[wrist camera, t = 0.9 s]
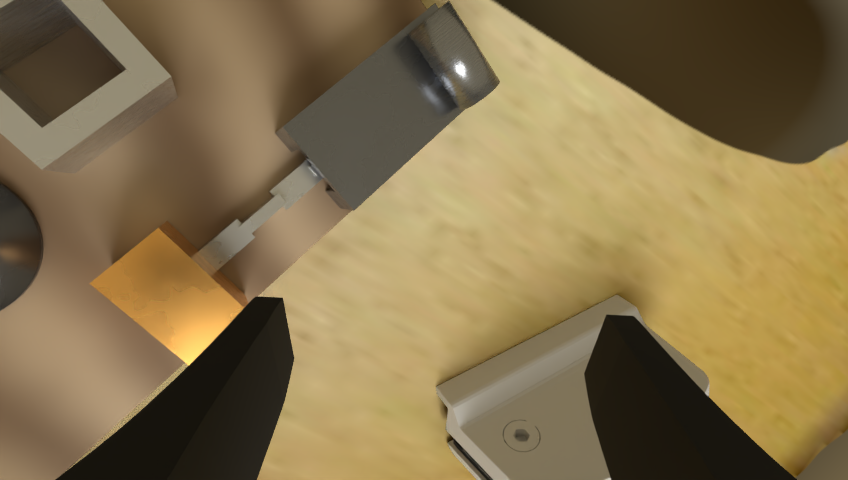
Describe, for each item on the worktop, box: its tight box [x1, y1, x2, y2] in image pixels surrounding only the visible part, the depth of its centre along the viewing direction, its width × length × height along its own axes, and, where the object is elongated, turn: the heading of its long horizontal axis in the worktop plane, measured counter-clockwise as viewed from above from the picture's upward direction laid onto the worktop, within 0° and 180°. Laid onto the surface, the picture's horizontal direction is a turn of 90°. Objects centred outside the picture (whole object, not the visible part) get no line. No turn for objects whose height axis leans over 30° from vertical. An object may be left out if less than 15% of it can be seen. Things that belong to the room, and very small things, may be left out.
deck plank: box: [0, 0, 427, 480], centre depth 22 cm, size 30×16×1 cm, turn 130°
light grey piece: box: [436, 295, 709, 480], centre depth 30 cm, size 17×5×10 cm, turn 106°
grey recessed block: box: [0, 0, 178, 174], centre depth 18 cm, size 5×5×4 cm
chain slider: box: [89, 160, 323, 365], centre depth 22 cm, size 18×5×4 cm, turn 130°
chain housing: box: [275, 1, 500, 210], centre depth 23 cm, size 10×5×5 cm, turn 130°
